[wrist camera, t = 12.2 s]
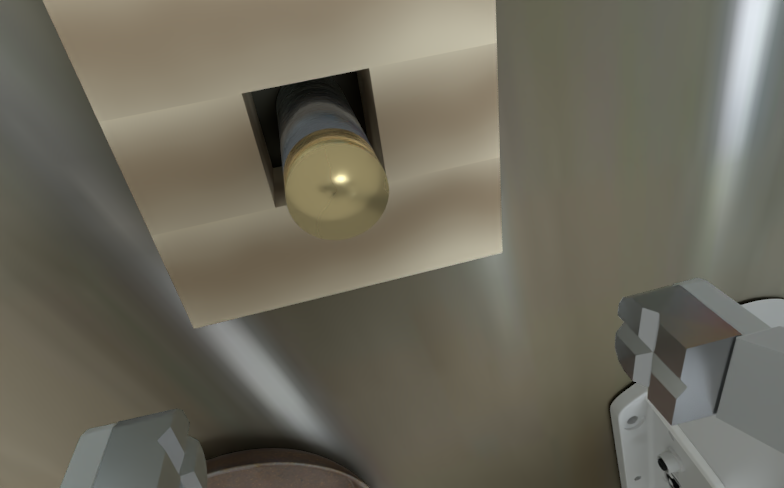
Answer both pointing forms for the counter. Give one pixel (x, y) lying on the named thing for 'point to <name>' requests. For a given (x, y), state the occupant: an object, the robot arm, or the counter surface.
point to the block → (248, 148)
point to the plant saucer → (278, 470)
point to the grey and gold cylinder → (328, 162)
